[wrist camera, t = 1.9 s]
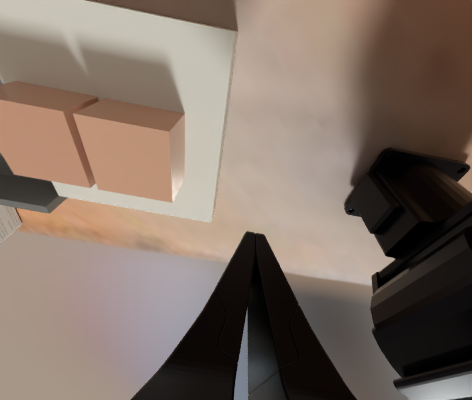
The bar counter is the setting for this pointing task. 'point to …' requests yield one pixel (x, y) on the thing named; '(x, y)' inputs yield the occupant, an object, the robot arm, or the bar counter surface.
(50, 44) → the plate
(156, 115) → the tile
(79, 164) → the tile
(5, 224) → the skincare box
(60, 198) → the tray
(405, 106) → the bar counter surface
